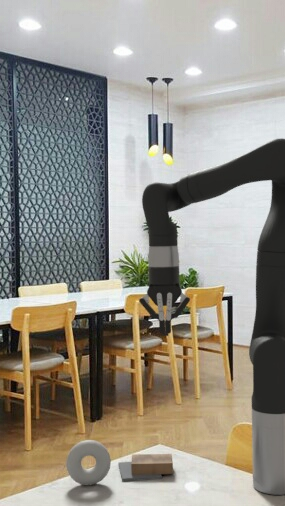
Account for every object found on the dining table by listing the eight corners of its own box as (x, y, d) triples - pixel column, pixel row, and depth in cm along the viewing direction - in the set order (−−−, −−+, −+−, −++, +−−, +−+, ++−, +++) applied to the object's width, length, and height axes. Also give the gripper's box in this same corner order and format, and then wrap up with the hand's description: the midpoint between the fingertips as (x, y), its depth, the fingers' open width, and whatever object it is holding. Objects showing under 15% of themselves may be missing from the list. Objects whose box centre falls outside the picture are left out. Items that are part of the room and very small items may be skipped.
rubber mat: (155, 462, 148) (155, 460, 148) (161, 478, 139) (161, 475, 139) (118, 465, 147) (118, 462, 147) (122, 481, 137) (122, 478, 137)
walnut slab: (132, 454, 146) (171, 453, 145) (132, 464, 146) (171, 464, 145) (131, 463, 140) (172, 463, 139) (131, 474, 140) (172, 473, 139)
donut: (110, 479, 138) (109, 436, 138) (112, 486, 135) (111, 441, 135) (66, 483, 137) (65, 439, 137) (66, 489, 134) (65, 444, 133)
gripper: (135, 266, 145) (137, 338, 146) (191, 264, 145) (193, 337, 145) (137, 264, 153) (139, 333, 153) (190, 263, 152) (191, 332, 153)
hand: (165, 335), depth 149 cm, fingers closed
